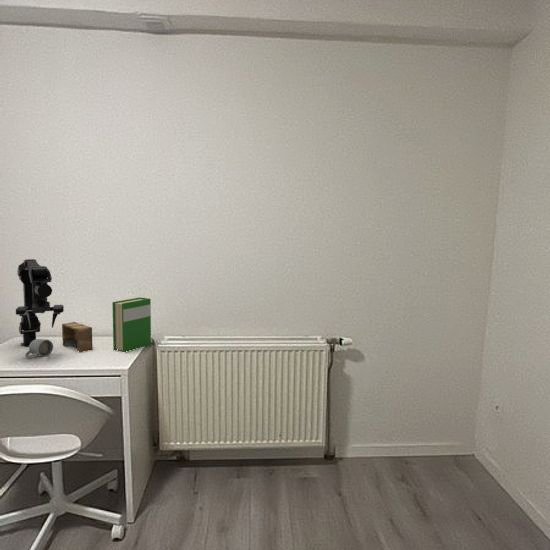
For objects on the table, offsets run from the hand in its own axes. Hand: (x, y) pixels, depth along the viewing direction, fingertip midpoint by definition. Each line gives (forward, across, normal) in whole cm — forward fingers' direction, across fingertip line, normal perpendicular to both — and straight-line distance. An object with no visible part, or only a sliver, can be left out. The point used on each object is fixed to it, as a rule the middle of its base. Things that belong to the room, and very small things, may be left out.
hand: (41, 328), depth 193 cm
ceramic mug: (+14, -2, +3) cm, 14 cm away
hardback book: (+14, +40, +3) cm, 42 cm away
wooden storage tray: (+14, +14, +11) cm, 23 cm away
